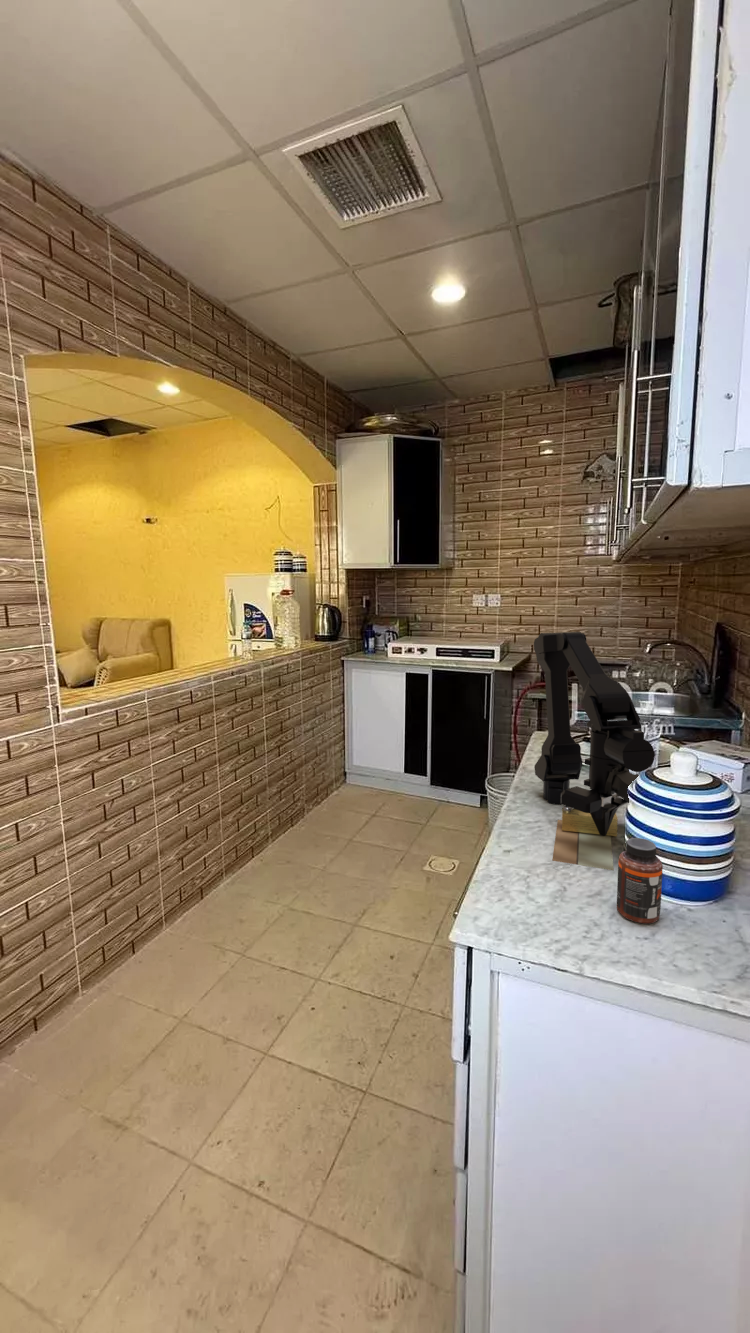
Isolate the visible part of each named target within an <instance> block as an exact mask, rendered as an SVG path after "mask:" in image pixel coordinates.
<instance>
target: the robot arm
mask: <svg viewBox="0 0 750 1333" xmlns="http://www.w3.org/2000/svg"><path fill="white" fill-rule="evenodd" d="M586 636H587V635H586V634H585V633H583V632H581V631H567V632H565V631H563V632H540V633H539V635H538V636H537V637H536V638H535V639H534V641H533V650H534V652H535V656H536V657H535V658H536V662H537V663H538V664H539V667H540V668H541V669H542V671H543V672H544V683H545V697H546V698H545V702H546V719H547V737H546V739H545V740H544V741H543V743H542V745H541V753H540V754H541V755H540V756H539V758H538V760H537V761H536V763H534V774H535V775H534V776H536V777H537V778H538V779H539V780H540V781H542V782H543V787H542V788H543V790H542V793H543V794H542V798H543V800H545V801H546V802H547V803H548V804H550V805H558V806H562V805H563V806H568V807H571V808H572V809H576V810H579V811H582V812H584V813H590V814H591V816H592V818H593V821H594V823H595V825H596V827H597V829H598V831H599V834H600V835H603V836H605V835H606V834H607V832H608V830H609V827H610V825H611V822H612V820H613V817H614V815H615V813H616V814H617V811H618V809H619V808H621V807H623V806H624V805H626V804H628V803H629V798H628V794H627V788H628V786H629V785H630V784H631V783H632V781H634V780H635V779H636V778H637V777H638V776H639V777H640V775H639V773H640V772H644V771H646V770H648V769H649V768H650V767H651V766H652V765H653V763H654V761H655V757H656V752H655V750H654V746H653V745H652V743H650V742H649V741H648V740H647V739H645V733H644V731H642V730H641V729H642V724H641V722H640V721H641V718H640V716H639V713H638V712H637V710H636V708H635V705H634V703H633V699H632V697H631V696H630V694H629V692H628V691H627V690H626V689H625V688H624V687H623V686H622V685H621V683H620V682H618V681H617V680H615V679H612V678H611V677H609V676H608V675H607V674H606V672H605V671H604V669H603V667H602V665H601V664H600V662H599V660H598V658H596V655H595V654H594V652H593V651H592V649H591V647H590V646H589V644H588V642H587V637H586ZM570 667H571V669H572V671H573V673H574V674H575V677H576V678H577V680H578V681H579V684H580V685H581V687H582V690H583V694H582V700H581V702H582V705H583V709H584V712H585V713H586V715H587V717H588V719H589V721H587V722H586V727H588V728H590V746H589V757H588V758H585V759H584V765H586V766H588V767H589V769H588V770H589V771H588V778H587V779H583V786H586V787H588V788H589V789H587V788H584V787H580V786H573V787H570V784H571V782H570V781H571V780H575V781H577V780H579V779H580V775H581V771H582V766H583V759H582V754H581V753H582V751H581V749H582V747H581V745H580V744H579V743H577V742H576V741H575V739H574V738H573V737H572V734H571V733H572V731H571V717H570V702H569V701H570V699H569V681H568V670H569V668H570ZM632 772H634V773H636V774H634V773H632Z"/></svg>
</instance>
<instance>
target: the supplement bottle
mask: <svg viewBox="0 0 750 1333" xmlns="http://www.w3.org/2000/svg"><path fill="white" fill-rule="evenodd" d="M625 843H626V844H625V845H626V846H625V850H623V851H622V852H621V853H619V857H618V865H617V867H618V868H617V888H616V908H617V911H618V912H619V914H620V915H621V916H623V917H624V918H626V919H627V920H629V921H632V922H635V923H639V924H653V923H656V922H657V921H659V919H660V916H661V915H660V914H661V907H662V887H663V863H662V860H660V858H659V857H658V856H657V845H656V844H655V843H654V842H653V841H651V840H648V839H645V838H641V837H632V838H628V839H627V840H626V842H625Z"/></svg>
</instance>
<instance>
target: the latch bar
mask: <svg viewBox="0 0 750 1333" xmlns="http://www.w3.org/2000/svg"><path fill="white" fill-rule="evenodd" d="M561 808H562V809H561V820H562V830H564V831H573V832H582V833H591V834H599V831H598V829H597V827H596V825H595V823H594V821H593V818H592V816H591V814H590V813H584V812H582V811H579V810H576V809H573V808H571V807H568V806H565V805H563V807H561ZM618 819H619V818H618V815H617V812H616V813H615V815H614V817H613V820H612V822H611V825H610V827H609V830H608V832H607V834H606V835H609V836H611V837H618V821H619V820H618Z"/></svg>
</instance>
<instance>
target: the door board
mask: <svg viewBox="0 0 750 1333" xmlns="http://www.w3.org/2000/svg"><path fill="white" fill-rule="evenodd" d="M612 847H613V846H612V836H609V835H605V836H603V835H600V834H591V833H582V832H573V831H564V830H562V819H557V823H556V830H555V836H554V845H553V852H552V862H558V863H564V864H569V865H570V864H571V865H577V866H582V867H583V866H584V867H589V868H595V869H600V870H609V871H614V860H613V859H614V858H613V857H614V856H613V848H612Z"/></svg>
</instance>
